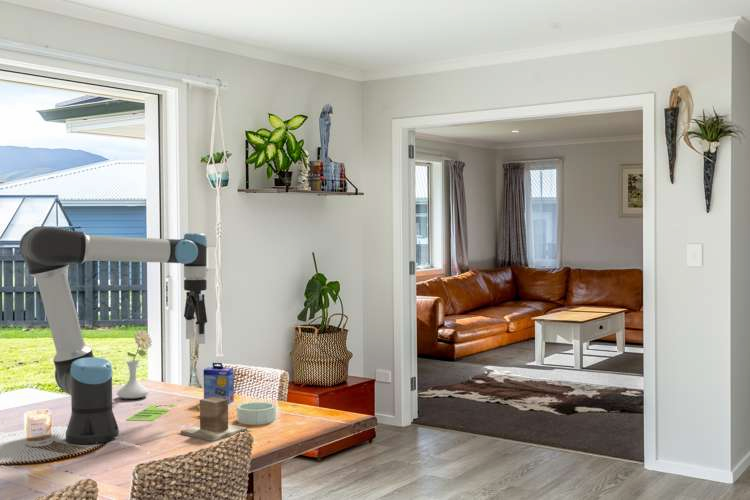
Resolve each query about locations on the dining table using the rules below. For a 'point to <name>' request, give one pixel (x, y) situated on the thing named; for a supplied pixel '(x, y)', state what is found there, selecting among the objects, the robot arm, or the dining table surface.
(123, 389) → the flower in vase
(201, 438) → the mat
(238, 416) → the bowl
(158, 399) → the dining table surface
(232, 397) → the ink cartridge box
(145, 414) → the door hanger
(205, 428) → the lid
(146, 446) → the dining table surface
